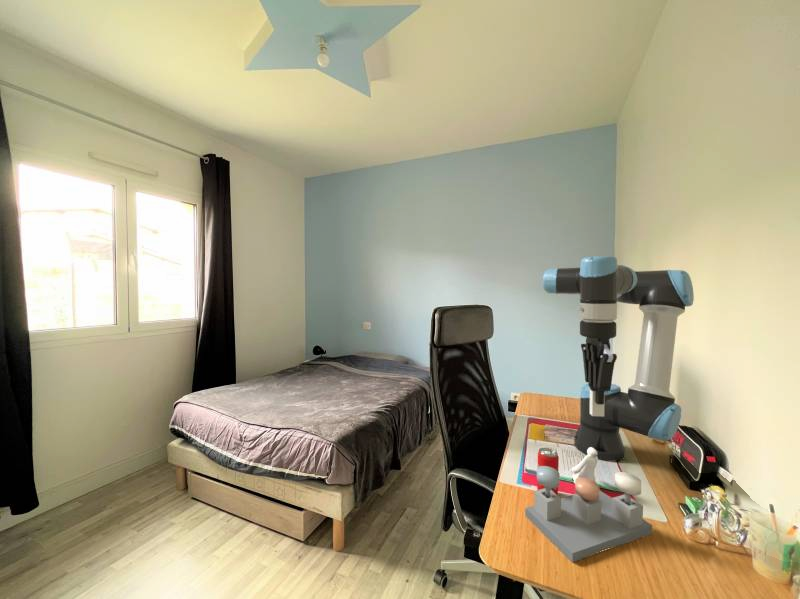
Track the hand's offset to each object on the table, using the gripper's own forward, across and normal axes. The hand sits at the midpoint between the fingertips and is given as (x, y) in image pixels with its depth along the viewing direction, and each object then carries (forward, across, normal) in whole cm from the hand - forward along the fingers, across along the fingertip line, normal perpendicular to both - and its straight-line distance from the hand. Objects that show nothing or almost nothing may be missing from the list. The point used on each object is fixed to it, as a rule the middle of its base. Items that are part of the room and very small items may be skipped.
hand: (596, 414), depth 77 cm
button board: (+26, +4, -4) cm, 26 cm away
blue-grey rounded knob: (+20, +4, -13) cm, 24 cm away
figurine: (+26, -13, +2) cm, 29 cm away
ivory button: (+20, +4, +5) cm, 21 cm away
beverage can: (+26, -6, -10) cm, 28 cm away
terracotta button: (+22, +4, -4) cm, 23 cm away
